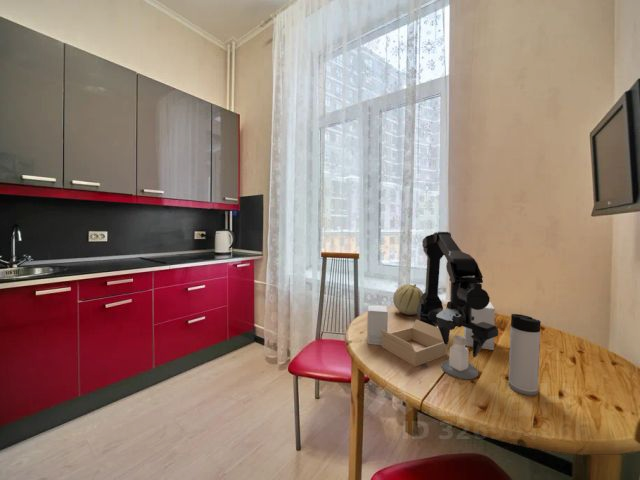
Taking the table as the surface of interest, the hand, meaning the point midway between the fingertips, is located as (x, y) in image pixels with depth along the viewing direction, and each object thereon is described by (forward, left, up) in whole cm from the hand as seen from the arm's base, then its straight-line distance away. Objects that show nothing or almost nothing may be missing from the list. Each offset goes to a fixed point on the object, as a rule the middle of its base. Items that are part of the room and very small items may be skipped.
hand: (459, 350), depth 81 cm
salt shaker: (0, 0, -6) cm, 6 cm away
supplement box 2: (-23, -8, -6) cm, 25 cm away
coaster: (0, 0, -6) cm, 6 cm away
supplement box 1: (+8, -28, -6) cm, 30 cm away
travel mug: (-6, +14, -6) cm, 17 cm away
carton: (+3, -15, -6) cm, 17 cm away
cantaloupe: (-26, -44, -6) cm, 51 cm away
